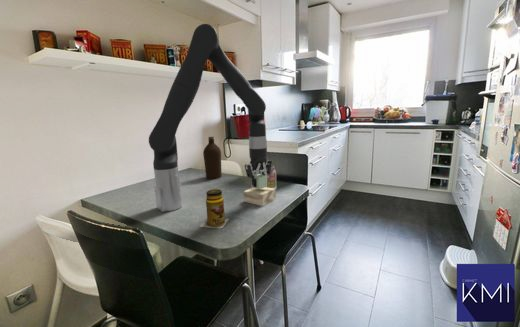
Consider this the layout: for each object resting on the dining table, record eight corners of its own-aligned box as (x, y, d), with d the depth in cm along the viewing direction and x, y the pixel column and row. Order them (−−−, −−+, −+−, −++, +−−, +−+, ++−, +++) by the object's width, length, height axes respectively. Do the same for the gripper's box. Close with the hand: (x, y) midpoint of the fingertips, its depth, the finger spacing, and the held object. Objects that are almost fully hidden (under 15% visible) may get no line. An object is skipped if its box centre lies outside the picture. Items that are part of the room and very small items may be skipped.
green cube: (258, 189, 105) (258, 177, 104) (251, 186, 109) (250, 175, 108) (267, 186, 108) (267, 175, 107) (259, 184, 112) (259, 173, 111)
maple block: (262, 206, 103) (262, 194, 102) (244, 202, 109) (243, 191, 108) (275, 199, 111) (275, 188, 110) (257, 195, 117) (257, 185, 116)
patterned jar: (264, 194, 118) (263, 169, 115) (255, 190, 124) (254, 166, 122) (279, 190, 122) (279, 166, 120) (270, 186, 129) (269, 164, 127)
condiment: (222, 228, 84) (220, 194, 81) (198, 227, 85) (195, 194, 83) (228, 219, 91) (226, 188, 88) (206, 218, 92) (204, 187, 90)
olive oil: (220, 179, 148) (217, 137, 143) (203, 179, 149) (199, 137, 144) (224, 175, 158) (221, 135, 153) (208, 175, 159) (205, 136, 154)
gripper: (250, 149, 98) (252, 190, 101) (276, 145, 107) (277, 183, 110) (239, 148, 103) (241, 187, 107) (264, 144, 112) (265, 180, 116)
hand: (259, 185), depth 108 cm, fingers closed on green cube, 4 cm apart
